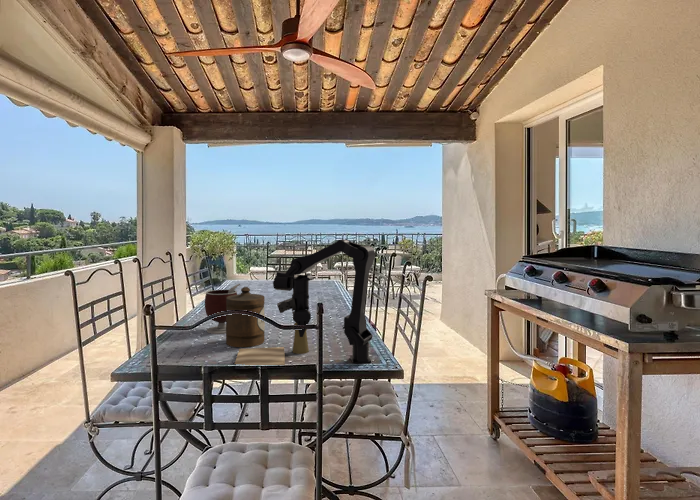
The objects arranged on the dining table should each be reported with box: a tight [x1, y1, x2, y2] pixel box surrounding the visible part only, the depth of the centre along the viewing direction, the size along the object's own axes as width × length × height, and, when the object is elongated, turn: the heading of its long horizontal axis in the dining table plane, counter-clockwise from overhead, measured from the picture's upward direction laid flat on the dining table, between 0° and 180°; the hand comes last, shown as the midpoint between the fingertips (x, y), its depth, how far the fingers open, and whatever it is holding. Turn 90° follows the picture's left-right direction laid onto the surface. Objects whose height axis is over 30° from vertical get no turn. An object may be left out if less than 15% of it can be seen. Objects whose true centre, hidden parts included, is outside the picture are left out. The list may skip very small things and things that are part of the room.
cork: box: [291, 322, 310, 355], centre depth 154 cm, size 6×6×11 cm
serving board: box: [234, 346, 286, 366], centre depth 144 cm, size 18×16×2 cm
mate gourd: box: [204, 283, 241, 335], centre depth 183 cm, size 16×14×20 cm
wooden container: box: [225, 286, 266, 348], centre depth 165 cm, size 15×15×22 cm
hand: (300, 333), depth 153 cm, fingers open, 8 cm apart
